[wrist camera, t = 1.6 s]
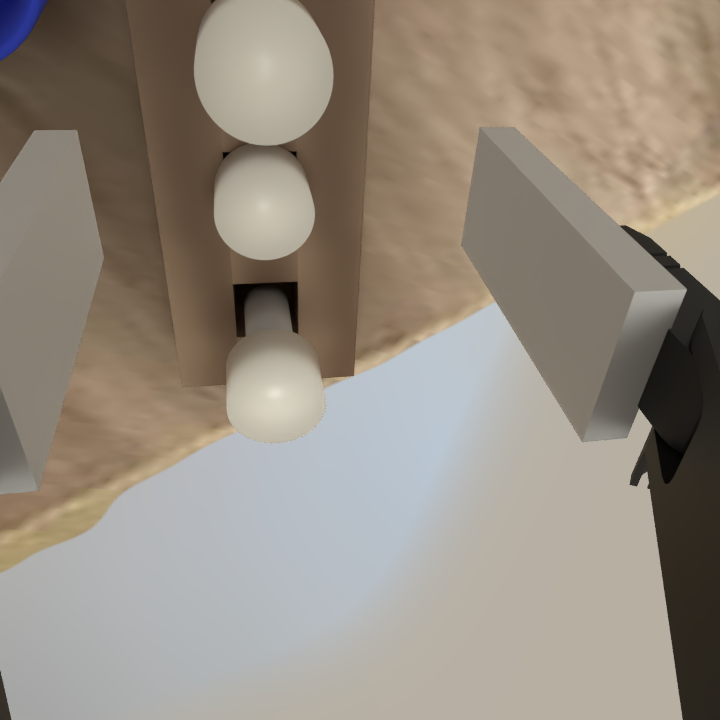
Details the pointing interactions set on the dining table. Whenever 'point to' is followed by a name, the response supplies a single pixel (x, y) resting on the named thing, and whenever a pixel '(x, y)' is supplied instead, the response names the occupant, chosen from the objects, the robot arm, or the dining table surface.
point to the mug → (17, 22)
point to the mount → (196, 192)
